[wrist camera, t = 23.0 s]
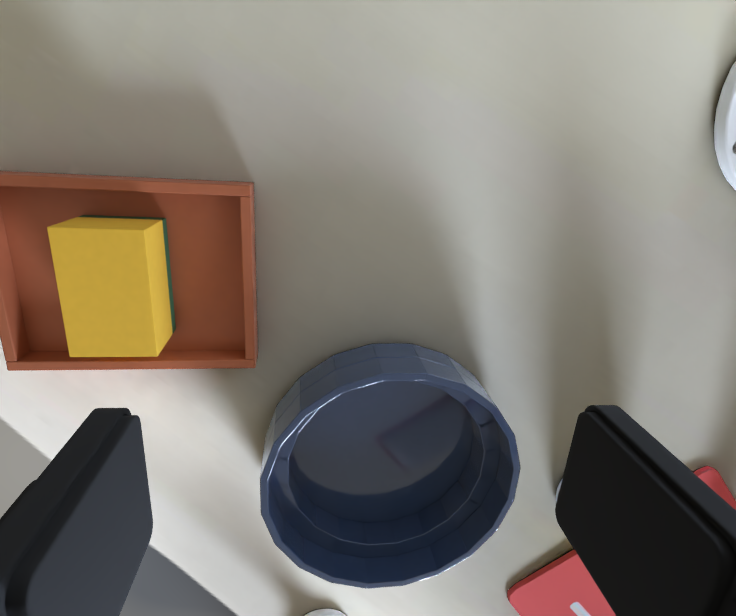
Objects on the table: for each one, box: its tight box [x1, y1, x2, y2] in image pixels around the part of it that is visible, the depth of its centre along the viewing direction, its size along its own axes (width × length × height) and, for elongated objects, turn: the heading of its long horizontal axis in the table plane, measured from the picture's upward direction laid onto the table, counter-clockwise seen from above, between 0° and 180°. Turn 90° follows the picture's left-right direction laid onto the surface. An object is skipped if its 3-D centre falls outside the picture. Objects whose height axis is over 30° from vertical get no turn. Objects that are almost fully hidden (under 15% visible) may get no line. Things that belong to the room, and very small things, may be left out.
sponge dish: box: [0, 171, 258, 370], centre depth 27 cm, size 11×14×2 cm
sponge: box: [47, 215, 176, 357], centre depth 26 cm, size 7×4×4 cm, turn 177°
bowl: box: [260, 343, 520, 588], centre depth 32 cm, size 17×17×5 cm
